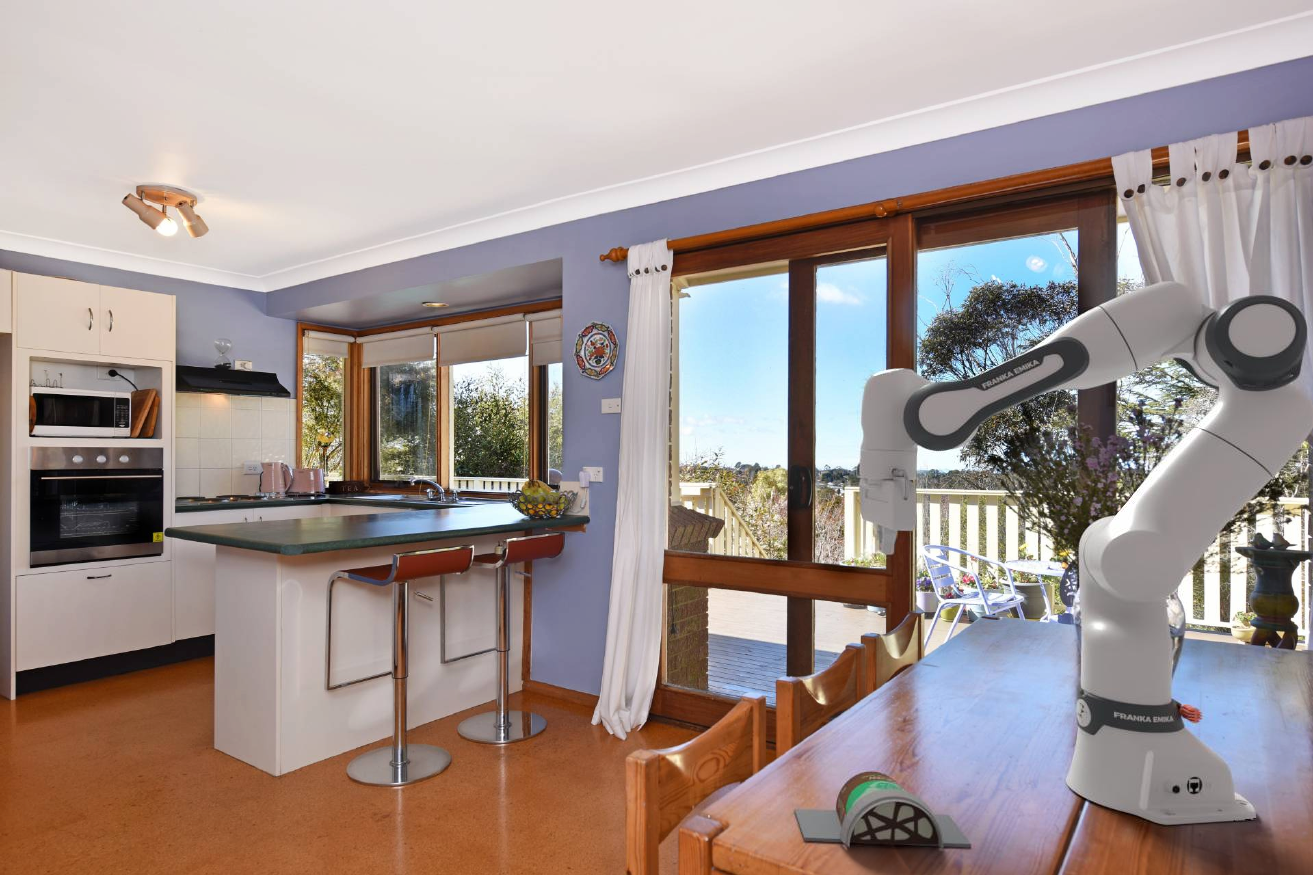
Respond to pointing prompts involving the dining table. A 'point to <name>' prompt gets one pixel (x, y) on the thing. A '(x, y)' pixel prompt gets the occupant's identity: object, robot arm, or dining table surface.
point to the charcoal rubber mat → (828, 830)
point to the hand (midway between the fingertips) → (885, 553)
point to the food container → (884, 813)
